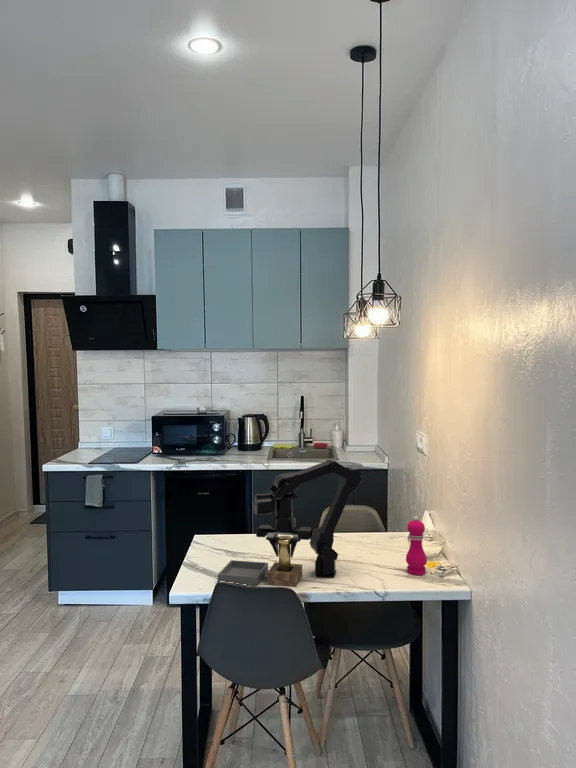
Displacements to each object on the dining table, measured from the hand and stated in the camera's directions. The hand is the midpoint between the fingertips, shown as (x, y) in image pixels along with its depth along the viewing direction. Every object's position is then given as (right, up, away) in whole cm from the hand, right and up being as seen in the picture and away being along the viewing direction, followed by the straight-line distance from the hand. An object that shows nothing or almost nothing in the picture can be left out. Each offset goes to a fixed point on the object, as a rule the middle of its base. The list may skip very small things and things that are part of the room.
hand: (284, 556), depth 190 cm
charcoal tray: (-14, -8, +4) cm, 17 cm away
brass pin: (0, -5, 0) cm, 5 cm away
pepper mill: (+47, -7, +6) cm, 48 cm away
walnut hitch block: (0, -8, 0) cm, 8 cm away
